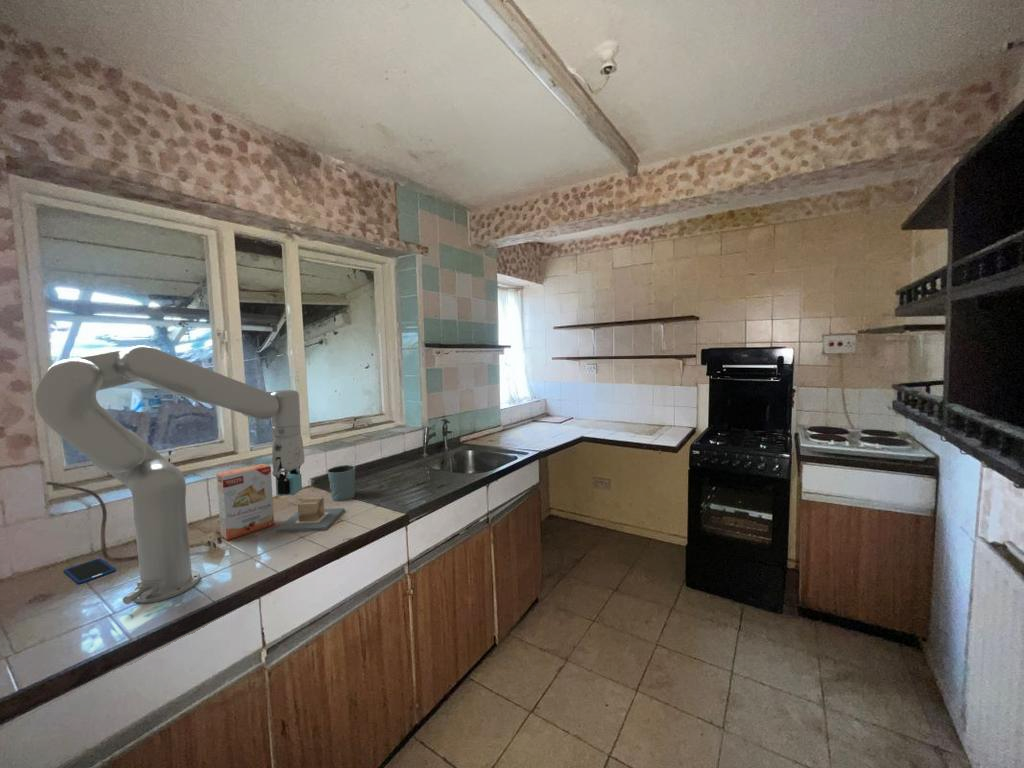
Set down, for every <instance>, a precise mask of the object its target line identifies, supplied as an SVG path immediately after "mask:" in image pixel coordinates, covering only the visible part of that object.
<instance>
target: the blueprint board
mask: <svg viewBox="0 0 1024 768" xmlns="http://www.w3.org/2000/svg"><path fill="white" fill-rule="evenodd" d="M344 512H345V508H344V507H342V508H338V507H337V508H324V513H325V514H324V515H323V516H322V517H321V518H319V519H318V520H317V521H302V522H299V516H298V511H297V512H296V513H294V514H293V515H292V516H291V517H289V518H288V519H287V520H285V521H284V522H283V523H282V524H281V525H280V526H278V527H277V528H275V533H288V532H289V533H290V532H313V531H315V532H316V531H318V532H319V531H326V530H327V529H329V527H331V525H333V524H334V523H335V522H336V521H337V519H338V518H339V517H340V516H342V514H343V513H344Z"/></svg>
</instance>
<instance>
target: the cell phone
mask: <svg viewBox="0 0 1024 768" xmlns="http://www.w3.org/2000/svg"><path fill="white" fill-rule="evenodd" d="M115 572H117V569H116V568H115V567H114V566H113V565H111V564H109V563H108V562H107V561H105V560H104V559H102V558H94V559H92V560H89V561H85V562H83V563H80V564H77V565H74V566H70V567H68V568H65V569H63V573H64V574H65V575H66V576H68V577H69V578H70V579H71V580H72V581H73V582H74V583H75V584H77V585H82V584H85V583H87V582H90V581H93V580H96V579H99V578H101V577H105V576H108V575H111V574H113V573H115Z"/></svg>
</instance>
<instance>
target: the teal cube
mask: <svg viewBox="0 0 1024 768" xmlns="http://www.w3.org/2000/svg"><path fill="white" fill-rule="evenodd" d="M283 475H284V476H285V473H283ZM288 480H290V493H289V494H278V482H277V479H276V478H275V491H276V496H295V495H297V494H298V493H299V492H301V491H302V490H303V482H302V480H303V479H302V473H300V474H289V475H288Z"/></svg>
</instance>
